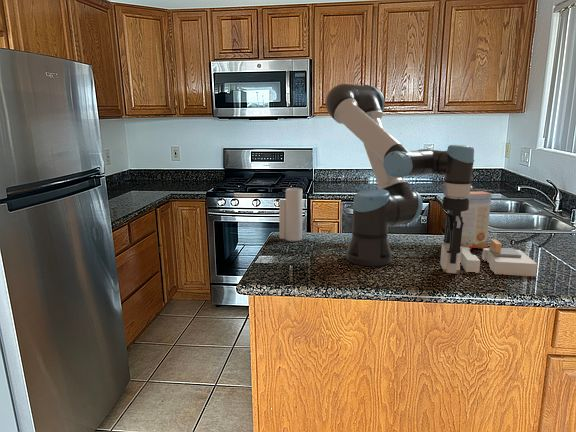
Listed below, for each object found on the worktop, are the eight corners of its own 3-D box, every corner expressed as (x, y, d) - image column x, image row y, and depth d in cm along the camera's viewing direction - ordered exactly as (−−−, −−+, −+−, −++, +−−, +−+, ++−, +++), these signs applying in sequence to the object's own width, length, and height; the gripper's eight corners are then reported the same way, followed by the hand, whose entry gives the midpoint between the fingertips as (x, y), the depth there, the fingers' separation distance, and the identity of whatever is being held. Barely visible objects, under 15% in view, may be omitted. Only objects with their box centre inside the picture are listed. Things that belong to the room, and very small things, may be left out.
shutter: (495, 256, 138) (496, 244, 137) (488, 249, 145) (490, 238, 145) (521, 257, 137) (522, 245, 136) (513, 250, 144) (514, 239, 143)
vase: (305, 239, 172) (306, 189, 168) (291, 242, 168) (292, 191, 163) (287, 233, 181) (287, 186, 176) (273, 236, 176) (273, 187, 172)
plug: (442, 272, 134) (444, 247, 133) (439, 267, 139) (441, 242, 137) (459, 273, 134) (461, 248, 132) (456, 268, 138) (458, 243, 137)
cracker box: (477, 244, 167) (482, 190, 162) (486, 248, 161) (492, 193, 156) (443, 245, 164) (448, 191, 160) (452, 250, 158) (457, 193, 154)
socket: (466, 272, 135) (467, 260, 134) (456, 257, 150) (457, 246, 149) (535, 276, 132) (537, 263, 131) (518, 261, 146) (519, 249, 145)
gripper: (476, 202, 122) (468, 280, 127) (462, 192, 139) (455, 261, 144) (449, 201, 123) (441, 278, 128) (438, 191, 140) (432, 260, 145)
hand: (449, 269), depth 136 cm, fingers closed on plug, 5 cm apart
